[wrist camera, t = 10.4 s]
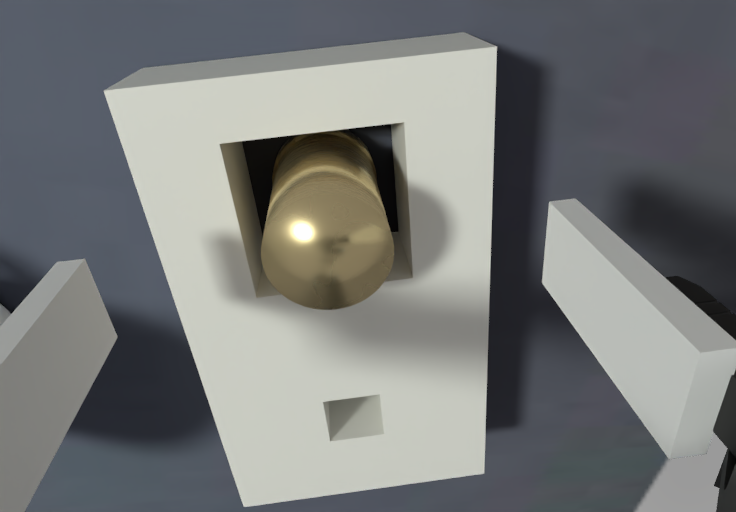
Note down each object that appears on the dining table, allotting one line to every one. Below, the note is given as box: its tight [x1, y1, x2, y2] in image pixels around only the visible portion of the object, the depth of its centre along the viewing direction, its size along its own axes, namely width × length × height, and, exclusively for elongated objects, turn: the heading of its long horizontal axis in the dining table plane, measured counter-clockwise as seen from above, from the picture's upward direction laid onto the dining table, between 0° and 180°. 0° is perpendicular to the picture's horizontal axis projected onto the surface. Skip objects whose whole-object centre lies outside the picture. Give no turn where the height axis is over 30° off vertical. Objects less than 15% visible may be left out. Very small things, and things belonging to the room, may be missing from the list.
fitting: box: [261, 129, 394, 310], centre depth 19 cm, size 4×4×7 cm
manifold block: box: [104, 32, 497, 507], centre depth 22 cm, size 20×12×4 cm, turn 5°
